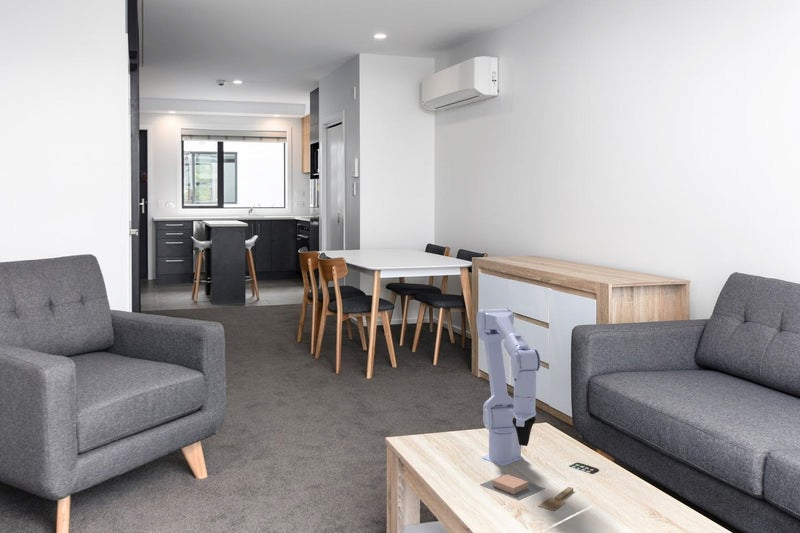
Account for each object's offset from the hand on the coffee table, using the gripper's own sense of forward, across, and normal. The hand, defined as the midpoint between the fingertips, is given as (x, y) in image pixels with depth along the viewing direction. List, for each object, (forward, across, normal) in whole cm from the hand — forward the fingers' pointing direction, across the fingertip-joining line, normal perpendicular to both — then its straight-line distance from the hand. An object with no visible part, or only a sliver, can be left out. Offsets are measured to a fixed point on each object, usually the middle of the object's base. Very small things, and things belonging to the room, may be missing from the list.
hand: (523, 444), depth 189 cm
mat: (+10, +4, -2) cm, 12 cm away
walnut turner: (+10, +10, +10) cm, 17 cm away
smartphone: (+11, -11, +12) cm, 20 cm away
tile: (+9, +3, -1) cm, 9 cm away
